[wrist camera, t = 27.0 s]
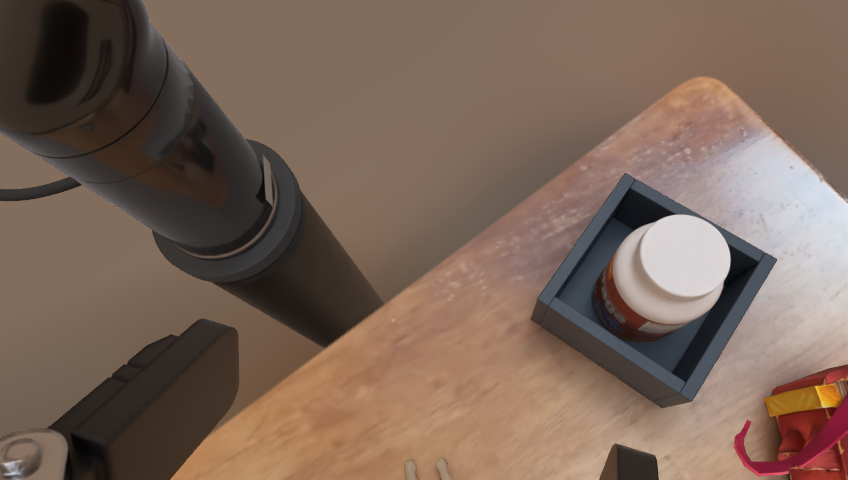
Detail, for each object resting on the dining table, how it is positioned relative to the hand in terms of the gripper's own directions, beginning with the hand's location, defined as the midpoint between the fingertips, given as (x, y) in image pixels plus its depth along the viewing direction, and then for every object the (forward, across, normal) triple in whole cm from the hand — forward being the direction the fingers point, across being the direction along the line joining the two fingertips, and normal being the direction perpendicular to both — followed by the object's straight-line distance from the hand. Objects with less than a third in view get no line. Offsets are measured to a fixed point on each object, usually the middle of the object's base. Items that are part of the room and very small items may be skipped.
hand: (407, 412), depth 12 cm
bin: (+30, -9, +13) cm, 34 cm away
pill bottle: (+30, -9, +13) cm, 34 cm away
